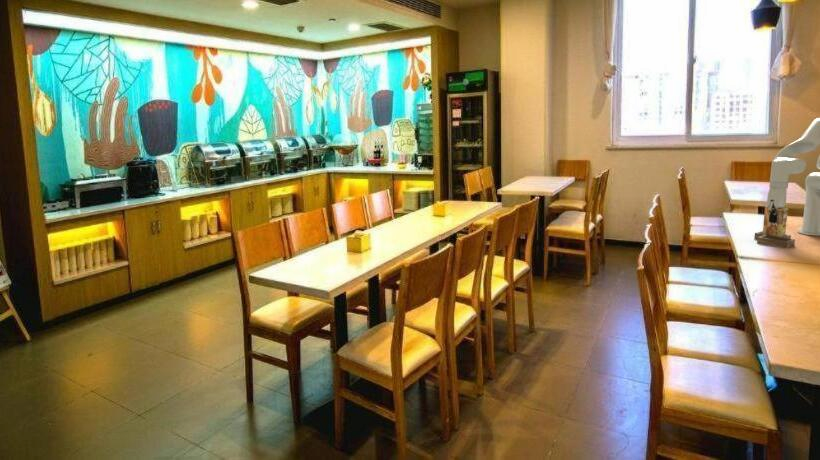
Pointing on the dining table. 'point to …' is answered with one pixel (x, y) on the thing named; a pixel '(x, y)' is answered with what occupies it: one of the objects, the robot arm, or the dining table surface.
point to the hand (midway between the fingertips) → (775, 221)
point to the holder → (774, 240)
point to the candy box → (777, 227)
